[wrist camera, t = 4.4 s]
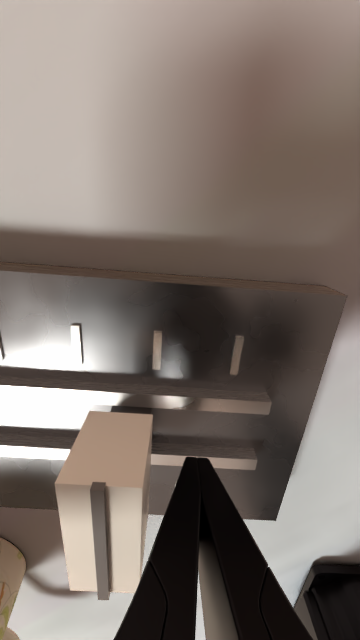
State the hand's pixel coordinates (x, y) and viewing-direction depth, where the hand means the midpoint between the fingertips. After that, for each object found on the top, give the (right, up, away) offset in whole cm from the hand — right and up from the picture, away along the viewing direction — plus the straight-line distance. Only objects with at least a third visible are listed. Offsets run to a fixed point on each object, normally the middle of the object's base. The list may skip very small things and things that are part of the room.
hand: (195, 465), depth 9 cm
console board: (-5, +2, +3) cm, 6 cm away
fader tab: (-3, +1, +2) cm, 3 cm away
